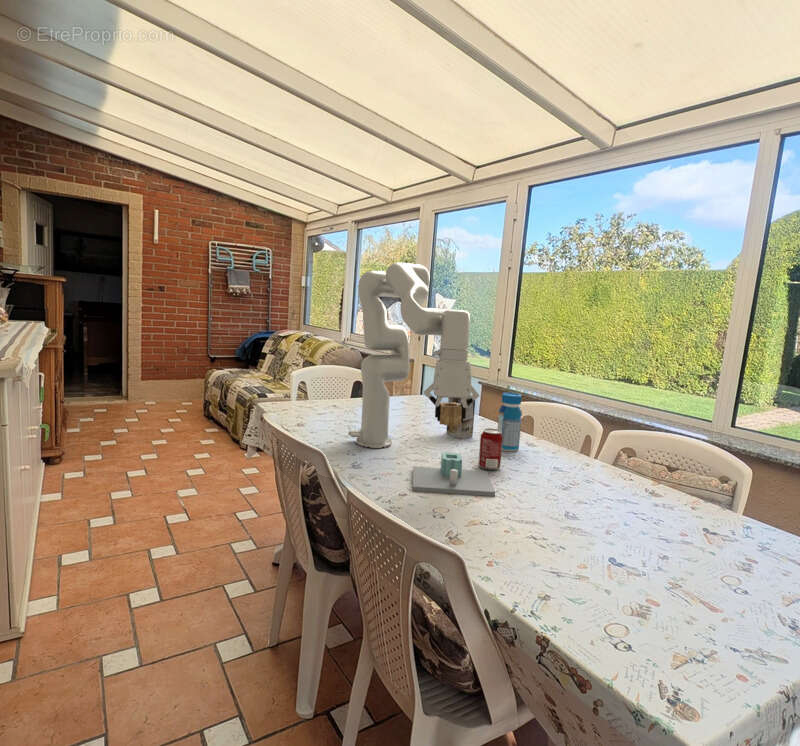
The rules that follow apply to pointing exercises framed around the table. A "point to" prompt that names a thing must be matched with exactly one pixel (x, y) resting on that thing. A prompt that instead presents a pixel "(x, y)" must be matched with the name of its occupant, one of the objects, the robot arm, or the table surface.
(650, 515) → the table surface
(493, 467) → the soda can
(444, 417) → the oak gear
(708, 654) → the table surface
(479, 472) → the board
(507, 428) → the beverage bottle
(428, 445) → the table surface
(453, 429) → the coffee box
